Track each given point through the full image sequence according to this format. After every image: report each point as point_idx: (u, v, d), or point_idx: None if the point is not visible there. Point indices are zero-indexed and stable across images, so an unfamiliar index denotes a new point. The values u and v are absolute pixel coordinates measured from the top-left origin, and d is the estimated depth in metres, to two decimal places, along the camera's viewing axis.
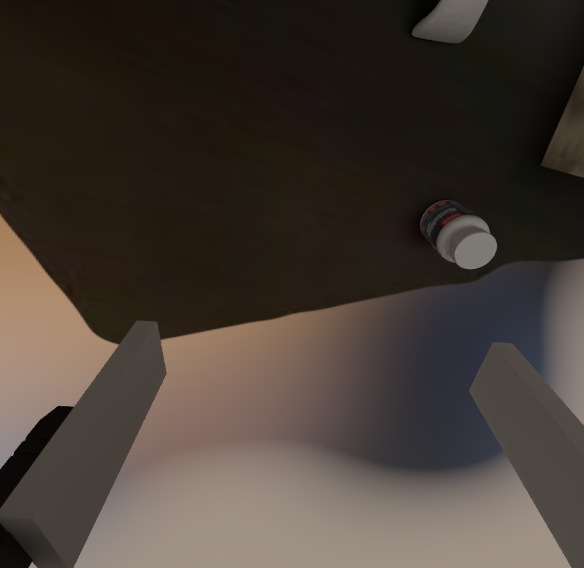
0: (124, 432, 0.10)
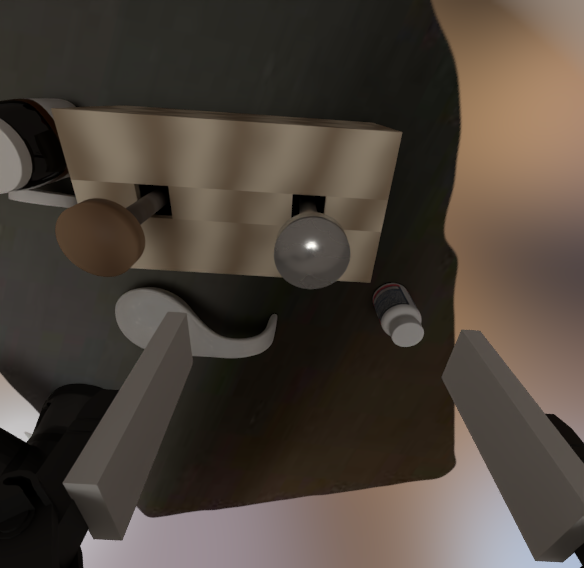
0: (161, 415, 0.11)
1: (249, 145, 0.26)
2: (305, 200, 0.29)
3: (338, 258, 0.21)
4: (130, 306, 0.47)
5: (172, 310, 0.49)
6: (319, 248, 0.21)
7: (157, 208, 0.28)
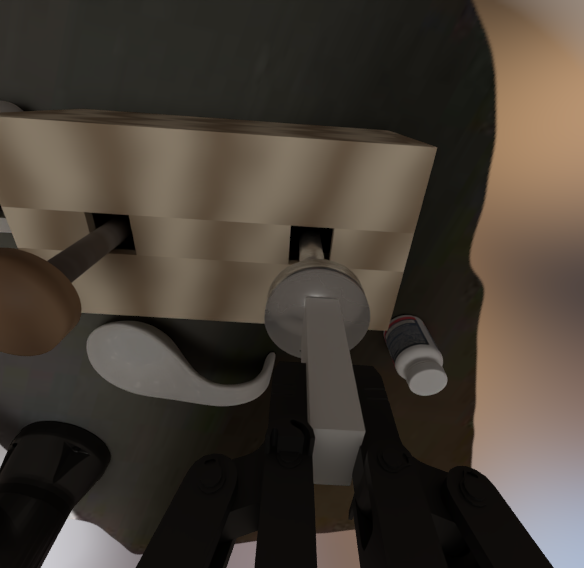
0: None
1: (233, 163, 0.20)
2: (306, 227, 0.24)
3: (353, 322, 0.15)
4: (105, 340, 0.40)
5: (154, 345, 0.42)
6: None
7: (114, 244, 0.21)
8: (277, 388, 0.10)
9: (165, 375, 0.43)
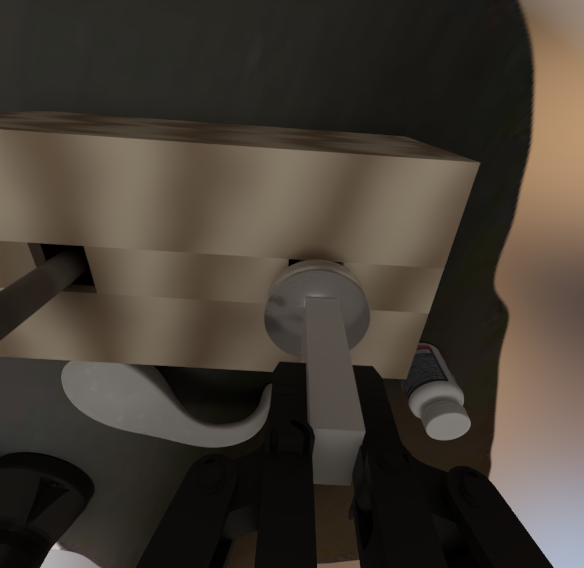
0: None
1: (214, 183, 0.15)
2: None
3: (353, 323, 0.15)
4: (82, 370, 0.36)
5: (139, 375, 0.38)
6: None
7: (64, 284, 0.17)
8: (277, 388, 0.10)
9: (151, 408, 0.38)
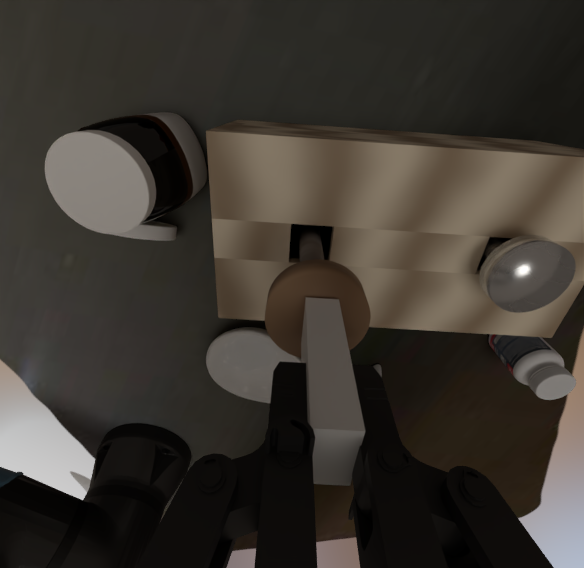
0: None
1: (453, 178, 0.20)
2: None
3: (558, 282, 0.20)
4: (223, 344, 0.41)
5: (267, 351, 0.43)
6: (542, 272, 0.20)
7: None
8: (277, 388, 0.10)
9: None
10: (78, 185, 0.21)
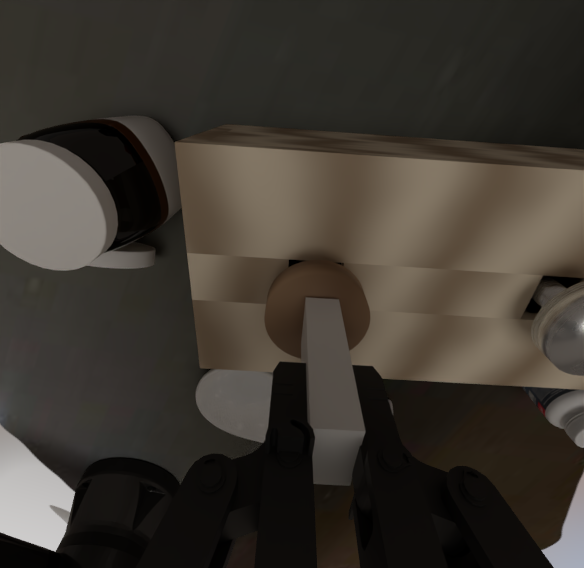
0: None
1: (501, 203, 0.16)
2: None
3: None
4: (215, 378, 0.36)
5: (265, 385, 0.38)
6: None
7: None
8: (277, 388, 0.10)
9: None
10: (13, 211, 0.17)
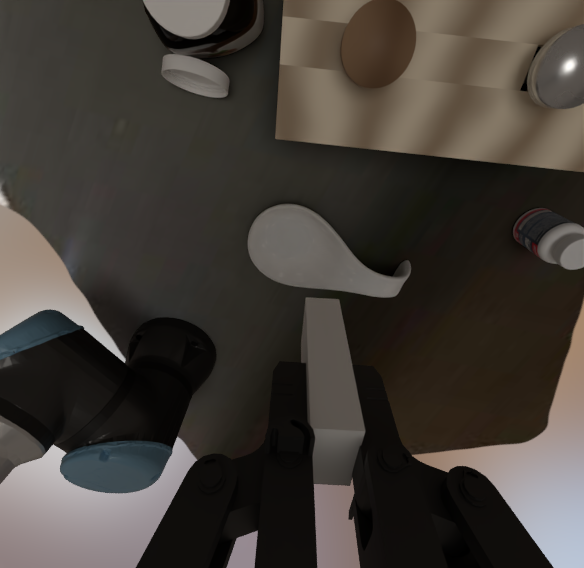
0: None
1: None
2: None
3: None
4: (265, 225, 0.43)
5: (304, 238, 0.45)
6: None
7: None
8: (277, 388, 0.10)
9: (309, 268, 0.46)
10: None
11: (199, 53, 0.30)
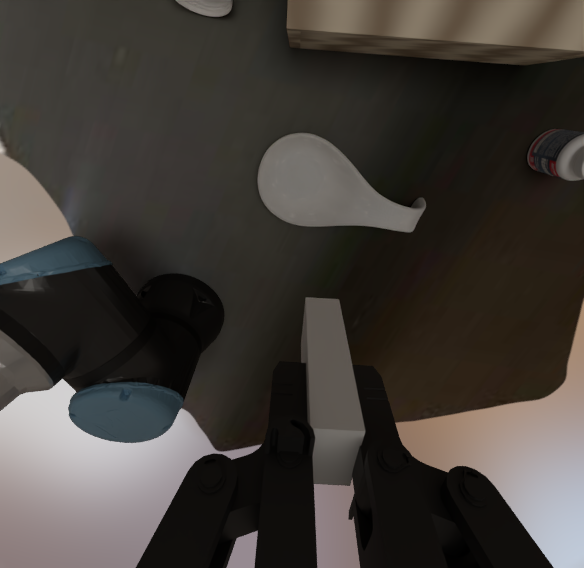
0: None
1: None
2: None
3: None
4: (275, 160, 0.42)
5: (315, 176, 0.44)
6: None
7: None
8: (277, 388, 0.10)
9: (321, 207, 0.45)
10: None
11: None
